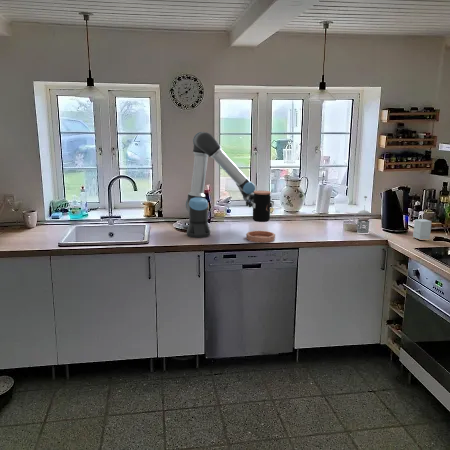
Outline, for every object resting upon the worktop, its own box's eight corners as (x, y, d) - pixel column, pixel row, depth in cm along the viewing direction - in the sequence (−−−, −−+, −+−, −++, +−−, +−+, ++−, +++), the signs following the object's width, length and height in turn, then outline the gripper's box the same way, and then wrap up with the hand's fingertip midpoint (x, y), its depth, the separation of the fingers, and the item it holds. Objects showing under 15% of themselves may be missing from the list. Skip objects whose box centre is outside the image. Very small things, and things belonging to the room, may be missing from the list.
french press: (366, 235, 285) (370, 197, 279) (349, 232, 292) (352, 195, 286) (372, 232, 293) (375, 195, 287) (355, 229, 300) (358, 194, 294)
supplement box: (429, 241, 274) (432, 221, 271) (419, 241, 273) (421, 221, 270) (422, 238, 281) (425, 218, 278) (412, 238, 280) (414, 219, 277)
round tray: (251, 242, 262) (251, 238, 261) (243, 235, 279) (243, 231, 278) (278, 241, 266) (278, 237, 265) (269, 234, 282) (269, 230, 282)
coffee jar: (268, 222, 264) (269, 193, 260) (251, 221, 266) (252, 192, 262) (270, 219, 274) (271, 190, 270) (253, 218, 276) (254, 190, 272)
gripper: (270, 204, 288) (281, 211, 267) (236, 205, 283) (245, 212, 262) (270, 193, 286) (282, 199, 265) (236, 194, 282) (245, 200, 261)
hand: (263, 205), depth 264 cm, fingers closed on coffee jar, 11 cm apart
